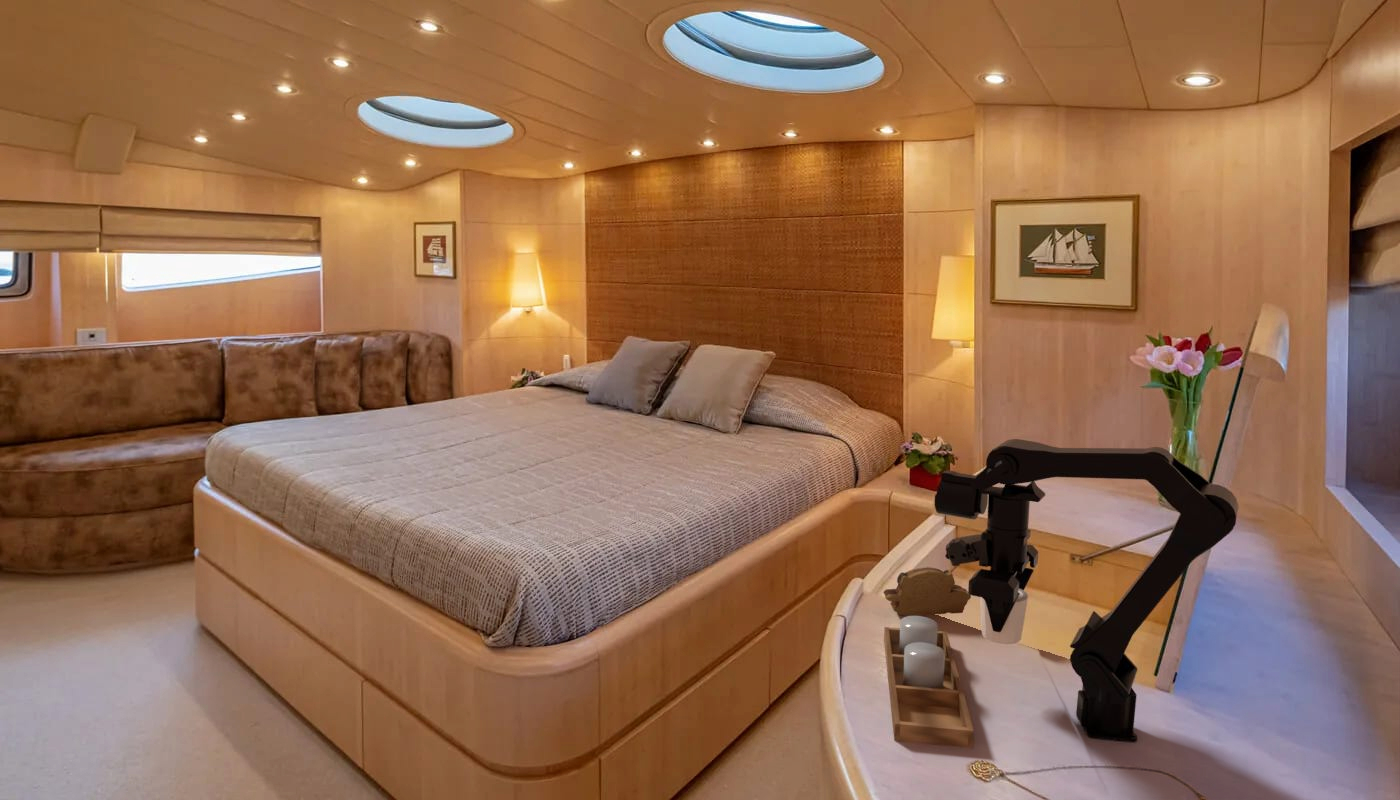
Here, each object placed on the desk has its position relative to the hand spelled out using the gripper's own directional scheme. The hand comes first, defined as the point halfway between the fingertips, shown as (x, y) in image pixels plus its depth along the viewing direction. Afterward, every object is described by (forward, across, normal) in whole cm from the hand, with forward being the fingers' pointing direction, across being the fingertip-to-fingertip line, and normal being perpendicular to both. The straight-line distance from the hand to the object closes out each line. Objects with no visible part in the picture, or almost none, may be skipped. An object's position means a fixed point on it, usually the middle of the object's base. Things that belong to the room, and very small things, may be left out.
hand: (1002, 623), depth 121 cm
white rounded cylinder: (+11, +6, -10) cm, 16 cm away
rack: (+12, +6, -10) cm, 17 cm away
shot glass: (+2, 0, 0) cm, 2 cm away
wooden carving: (+12, -21, -18) cm, 30 cm away
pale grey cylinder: (+11, -3, -14) cm, 18 cm away
